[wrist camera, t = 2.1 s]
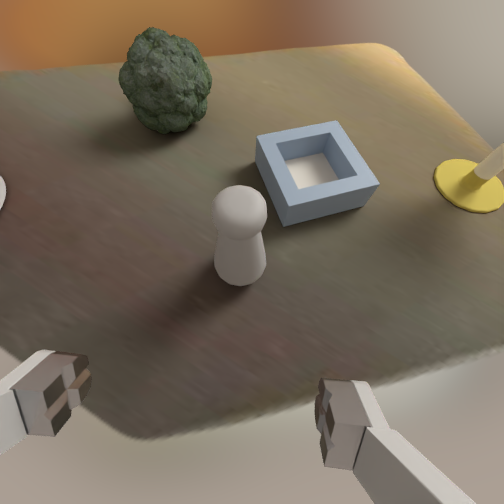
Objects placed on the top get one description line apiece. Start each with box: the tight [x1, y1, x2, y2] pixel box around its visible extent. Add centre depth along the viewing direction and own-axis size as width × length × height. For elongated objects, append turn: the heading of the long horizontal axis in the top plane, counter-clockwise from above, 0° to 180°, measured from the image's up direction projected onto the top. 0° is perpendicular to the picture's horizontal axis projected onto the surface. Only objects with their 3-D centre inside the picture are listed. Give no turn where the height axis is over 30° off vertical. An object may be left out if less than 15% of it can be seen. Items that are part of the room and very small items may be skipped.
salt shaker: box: [212, 185, 267, 286], centre depth 24 cm, size 6×6×13 cm
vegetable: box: [119, 27, 212, 134], centre depth 37 cm, size 12×13×15 cm
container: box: [255, 120, 380, 227], centre depth 34 cm, size 12×12×4 cm
